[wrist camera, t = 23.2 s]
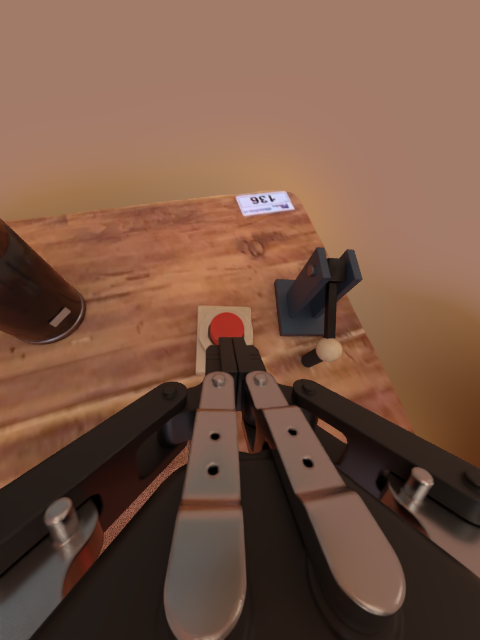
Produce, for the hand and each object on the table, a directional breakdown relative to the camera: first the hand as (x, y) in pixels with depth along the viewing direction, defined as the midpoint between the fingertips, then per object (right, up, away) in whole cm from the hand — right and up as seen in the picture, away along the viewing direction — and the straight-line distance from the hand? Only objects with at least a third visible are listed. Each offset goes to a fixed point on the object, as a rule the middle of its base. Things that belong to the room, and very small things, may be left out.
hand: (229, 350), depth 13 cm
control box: (-2, -2, +21) cm, 21 cm away
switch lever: (+12, +3, +17) cm, 21 cm away
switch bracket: (+11, +4, +25) cm, 28 cm away
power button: (-1, 0, +18) cm, 18 cm away
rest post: (+11, -5, +22) cm, 25 cm away
